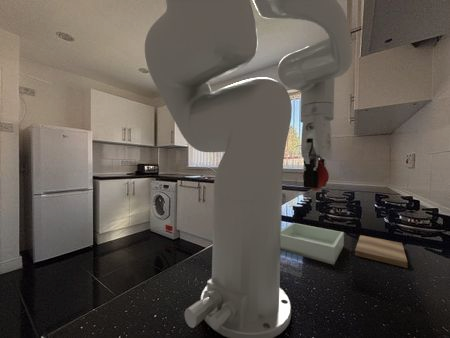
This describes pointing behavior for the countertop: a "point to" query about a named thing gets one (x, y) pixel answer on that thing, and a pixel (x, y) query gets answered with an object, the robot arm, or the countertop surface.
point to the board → (381, 250)
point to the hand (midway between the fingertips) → (314, 186)
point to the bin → (312, 242)
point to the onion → (321, 176)
